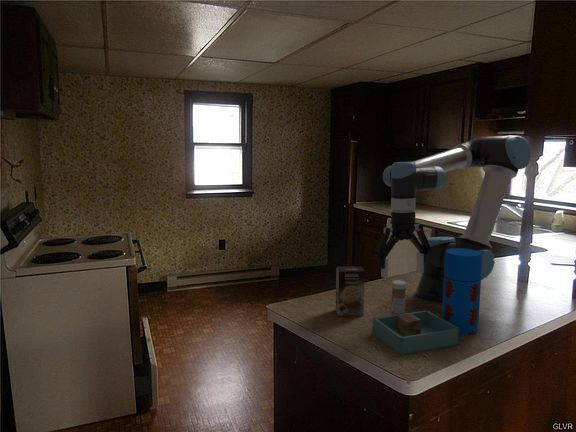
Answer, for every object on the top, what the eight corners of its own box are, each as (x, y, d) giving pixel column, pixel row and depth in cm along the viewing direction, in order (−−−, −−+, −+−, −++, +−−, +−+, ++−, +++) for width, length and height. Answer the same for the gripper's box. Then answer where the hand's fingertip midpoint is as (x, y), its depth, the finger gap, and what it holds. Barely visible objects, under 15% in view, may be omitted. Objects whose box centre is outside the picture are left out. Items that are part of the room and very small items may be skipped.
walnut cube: (411, 329, 135) (411, 314, 134) (420, 335, 130) (421, 319, 130) (397, 331, 134) (397, 316, 133) (406, 337, 129) (406, 322, 128)
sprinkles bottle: (394, 317, 147) (395, 279, 145) (407, 320, 144) (408, 281, 142) (388, 321, 143) (389, 282, 141) (402, 324, 140) (403, 284, 138)
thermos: (459, 338, 130) (463, 257, 126) (434, 325, 139) (437, 250, 136) (485, 331, 134) (490, 253, 130) (459, 319, 144) (463, 246, 140)
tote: (426, 324, 140) (427, 310, 139) (459, 345, 125) (460, 328, 124) (373, 333, 134) (373, 318, 133) (400, 355, 119) (401, 338, 118)
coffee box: (337, 316, 148) (338, 271, 145) (335, 309, 154) (335, 266, 152) (364, 315, 148) (365, 270, 146) (360, 309, 154) (361, 265, 152)
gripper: (375, 215, 129) (375, 283, 132) (443, 209, 137) (441, 273, 140) (362, 212, 136) (363, 277, 139) (428, 206, 144) (426, 267, 147)
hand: (402, 275), depth 140 cm, fingers open, 13 cm apart
